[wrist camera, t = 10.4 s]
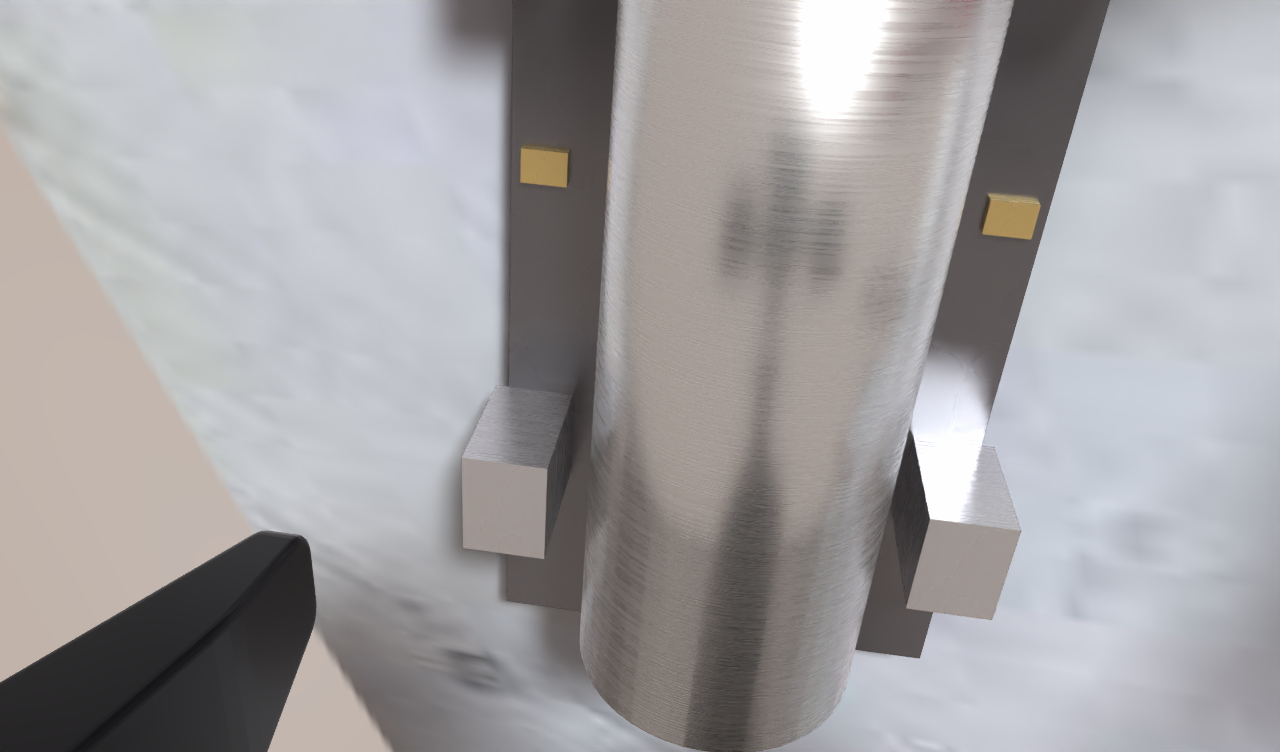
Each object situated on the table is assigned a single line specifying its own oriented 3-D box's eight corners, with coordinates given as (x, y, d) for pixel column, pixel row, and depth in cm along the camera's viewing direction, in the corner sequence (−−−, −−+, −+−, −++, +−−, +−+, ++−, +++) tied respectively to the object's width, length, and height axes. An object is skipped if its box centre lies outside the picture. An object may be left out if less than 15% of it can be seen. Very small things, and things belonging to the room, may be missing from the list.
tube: (672, -415, 14) (613, -509, 9) (1061, -387, 13) (1189, -471, 9) (603, 539, 22) (554, 727, 17) (843, 574, 21) (854, 774, 17)
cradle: (925, 627, 23) (948, 754, 20) (505, 569, 24) (465, 684, 21) (1265, -558, 13) (1413, -662, 10) (517, -604, 14) (441, -716, 10)
